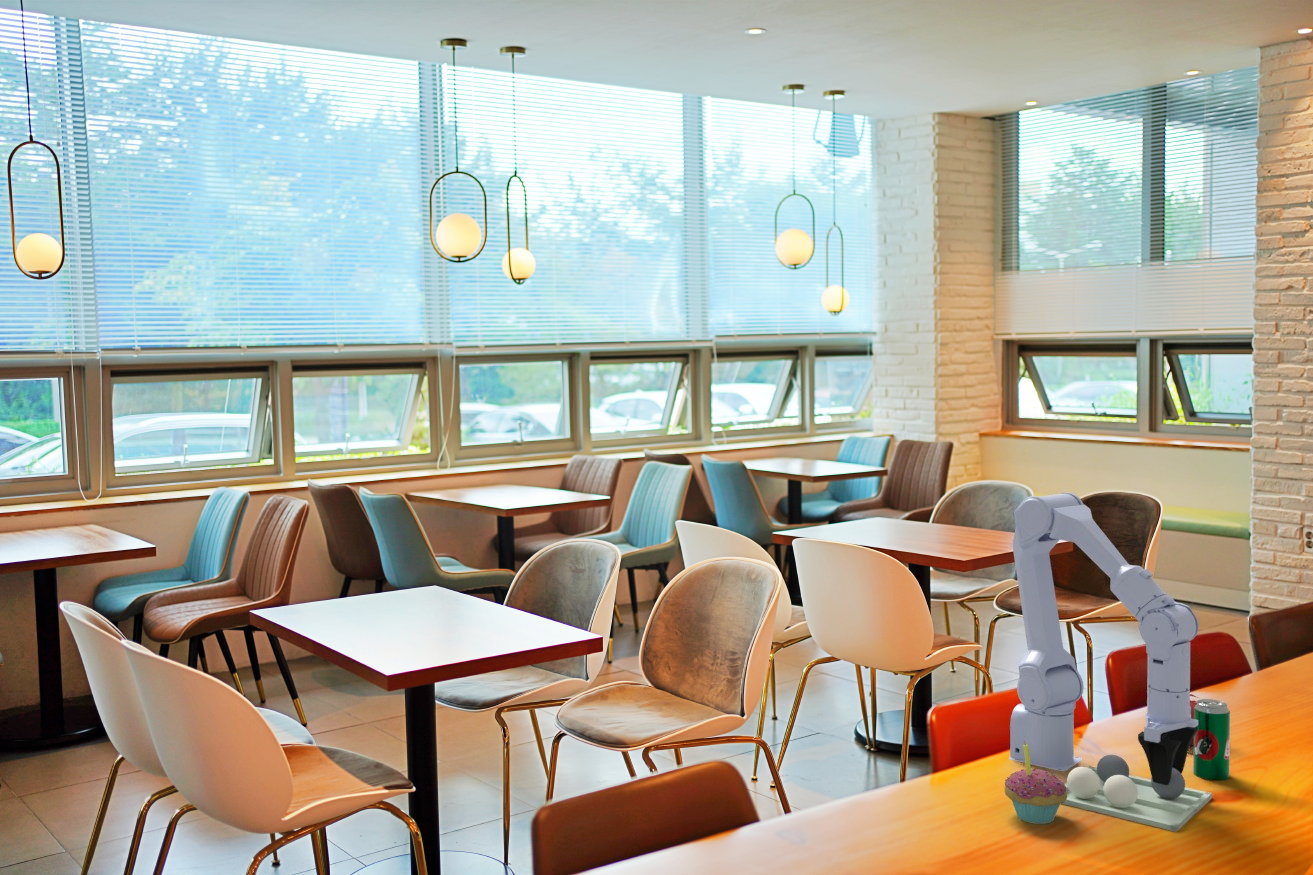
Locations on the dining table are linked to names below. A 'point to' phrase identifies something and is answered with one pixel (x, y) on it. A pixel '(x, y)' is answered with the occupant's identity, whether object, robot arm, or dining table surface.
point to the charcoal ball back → (1112, 767)
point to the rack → (1146, 805)
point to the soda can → (1212, 740)
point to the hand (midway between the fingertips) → (1167, 777)
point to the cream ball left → (1083, 782)
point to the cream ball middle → (1120, 791)
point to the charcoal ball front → (1170, 786)
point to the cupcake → (1035, 793)
